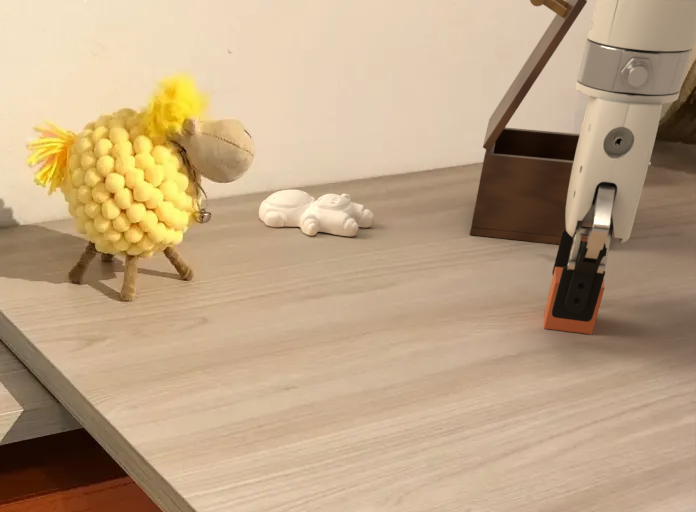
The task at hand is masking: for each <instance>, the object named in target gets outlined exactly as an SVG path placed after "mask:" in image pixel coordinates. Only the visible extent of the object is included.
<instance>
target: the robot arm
mask: <svg viewBox="0 0 696 512" xmlns="http://www.w3.org/2000/svg"><path fill="white" fill-rule="evenodd" d="M695 43H696V0H595V5H594V8H593V13H592V16H591V20H590V25H589V29H588V33H587V38H586V41H585V46H584V49H583V54H582V57H581V61H580V62H581V63H580V65H579V70H578V75H577V78H576V82H575V87H574V89H575V90H576V91H577V92H580V93H581V94H584V95H586V96H588V99H587V104H586V108H585V111H584V112H585V113H584V116H583V119H582V123H581V128H580V132H579V134H580V136H579V140H578V144H577V148H576V153H575V157H574V162H573V166H572V171H571V177H570V182H569V188H568V194H567V202H566V230H563V233H562V237H561V240H560V244H558V248H557V252H556V257H555V261H554V264H553V268H552V276H553V274H554V270H555V267H563V270H562V274H561V278H560V282H559V285H558V289H557V293H556V297H555V301H554V305H553V308H552V315H553V317H555V318H562V319H570V320H577V321H585V322H588V321H590V320H591V319H592V317H593V314H594V310H595V307H596V303H597V300H598V296H599V293H600V289H601V286H602V283H603V279H604V280H605V275H606V270H605V269H606V265H607V260H608V255H609V251H610V247H611V241H612V237H613V238H614V239H617V240H618V243H619V244H624V243H626V241H628V240H629V239H630V237H631V235H632V230H633V226H634V222H635V219H636V216H637V215H636V214H637V211H638V206H639V203H640V199H641V196H642V192H643V187H644V184H645V180H646V177H647V173H648V169H649V166H650V165H649V162H650V163H651V159H652V154H653V150H654V146H655V142H656V137H657V133H658V129H659V124H660V120H661V116H662V115H661V114H662V108H663V104H670V103H674V102H675V101H678V99H679V97H680V93H681V89H682V86H683V82H684V79H685V76H686V72H687V69H688V67H689V63H690V59H691V56H692V53H693V51H694V47H695Z"/></svg>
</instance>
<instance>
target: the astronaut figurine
mask: <svg viewBox="0 0 696 512" xmlns="http://www.w3.org/2000/svg"><path fill="white" fill-rule="evenodd" d="M258 218H259V220H260V221H261V222H263V223H264V225H265V226H267V227H270V228H284V227H288V228H290V227H292V228H294V227H295V228H296V227H297V228H300V230H301V232H302V233H303V234H305V235H307V236H312V237H313V236H316V235H317V233H326V234H331V235H335V236H336V235H337V236H342V237H354V236H356V235H357V233H358V231H359V228H372V227H373V225H374V222H375V215H374V213H373V212H372V211H371V209H368V208H366V206H365V205H364V204H361V203H356V202H354V201H352V196H351V195H350V194H347V193H342V194H341V195H340V194H337V193H326V194H323V195H321V196H320V197H318V198H317V199H315V197H314V196H311V195H310V194H309V193H308V192H307V191H304V190H301V189H283V190H279V191H275V192H274V193H272V194H270V195H269V196H268V197H267V198H266V199H263V201H262V202H261V203H260V206H259V209H258Z"/></svg>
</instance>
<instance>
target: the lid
mask: <svg viewBox="0 0 696 512" xmlns="http://www.w3.org/2000/svg"><path fill="white" fill-rule="evenodd" d="M529 2H530V3H531V5H532V6H533V7H540V6H545V7H546V8H548V9H549V10H550V11H552V12H553V13H554V14H555V15H554V17H553V19H552V20H551V22H550V24H549V25H548V26H547V28H546V30H544V33H543V34H542V36H541V37H540V39H539V41H538V42H537V44H536V45H535V47H534V49H533V50H532V52H531V53H530V54H529V56H528V58H527V60H526V61H525V62H524V64H523V66H522V67H521V69H520V70H519V72H518V74H517V75H516V76H515V77H514V80H513V81H512V83H511V85H510V86H509V87H508V88H507V90H506V92H505V93H504V95H503V97H502V99H501V100H500V101H499V103H498V105H497V106H496V108H495V110H494V111H493V113H492V114H491V115H490V117H489V118H488V123H487V128H486V132H485V136H484V140H483V146H482V148H483V149H484V150H485V151H486V150H488V151H490V149H491V148H492V146H493V145H494V143H495V142H496V140H497V139H498V137H499V136H500V134H501V133H502V131H503V130H504V128H507V125H508V124H509V122H510V120H511V119H512V117H513V116H514V114H515V113H516V111H517V110H518V108H519V107H520V105H521V104H522V102H523V101H524V99H525V98H526V96H527V95H528V93H529V91H530V90H531V89H532V87H533V85H535V83H536V81H537V79H538V78H539V77H540V75H541V73H542V72H543V70H544V68H545V67H546V65H547V64H548V62H549V61H550V59H551V58H552V56H553V55H554V54H555V52H556V51H557V49H558V47H559V46H560V44H561V43H562V41H563V39H565V37H566V36H567V34H568V32H569V30H570V29H571V27H572V26H573V24H574V23H575V22H576V20H577V18H578V17H579V15H580V14H581V12H582V11H583V9H584V8H585V6H586V4H587V3H588V0H529Z"/></svg>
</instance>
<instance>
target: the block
mask: <svg viewBox="0 0 696 512" xmlns="http://www.w3.org/2000/svg"><path fill="white" fill-rule="evenodd" d="M562 270H563V267H555V270H554V274H553V275H552V278H551V282H550V287H549V291H548V294H547V298H546V302H545V307H544V312H543V329H544V330H545V329H546V330H554V331H562V332H568V333H576V334H586V335H592V334H593V332H594V329H595V326H596V321H597V317H598V315H599V311H600V310H599V309H600V307H601V303H602V299H603V296H604V293H605V278H604V279H603V283H602V286H601V289H600V293H599V296H598V300H597V303H596V307H595V310H594V314H593V317H592V319H591V320H590V321H588V322H585V321H577V320H570V319H562V318H555V317H553V315H552V308H553V305H554V301H555V297H556V293H557V289H558V285H559V282H560V278H561V274H562Z"/></svg>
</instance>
